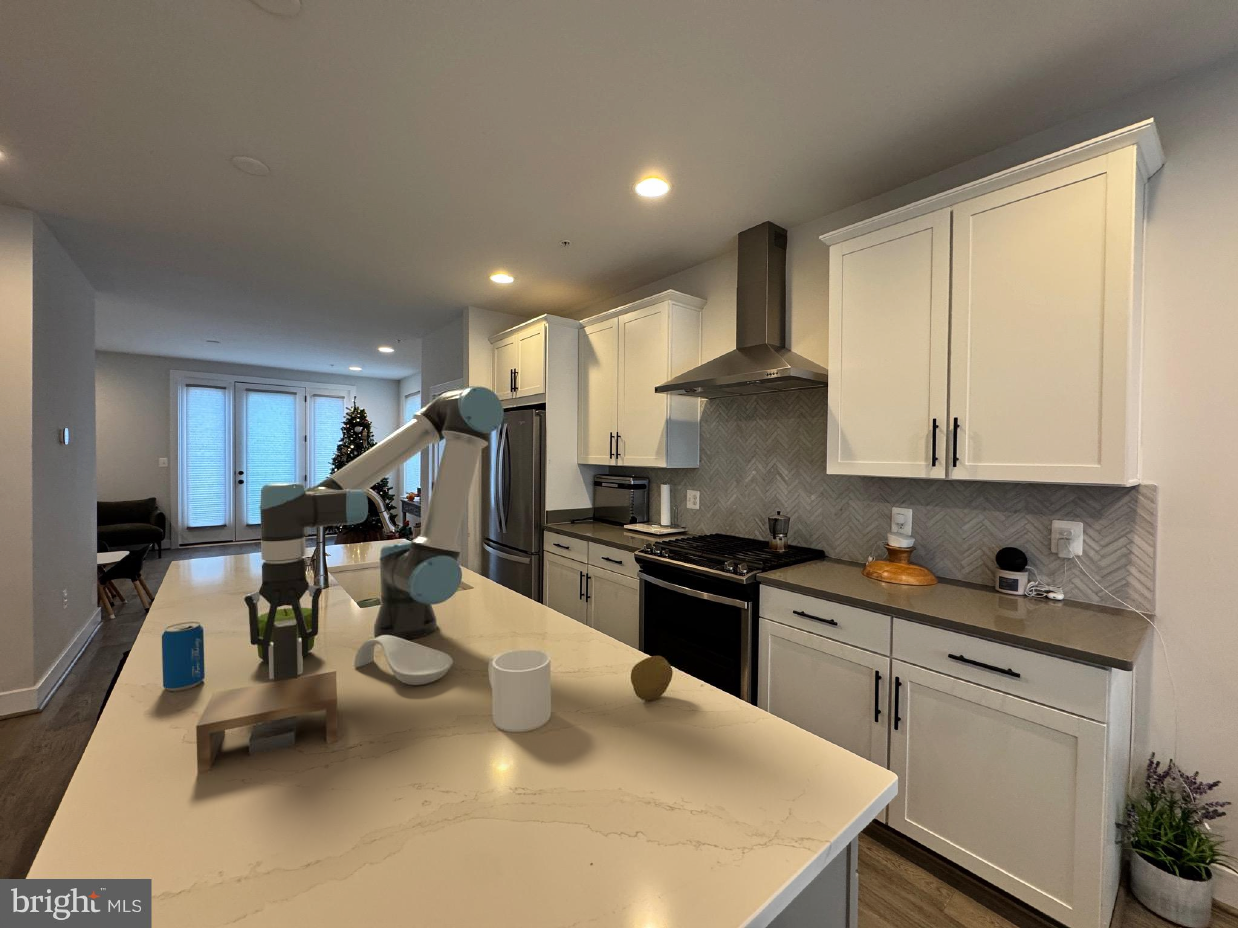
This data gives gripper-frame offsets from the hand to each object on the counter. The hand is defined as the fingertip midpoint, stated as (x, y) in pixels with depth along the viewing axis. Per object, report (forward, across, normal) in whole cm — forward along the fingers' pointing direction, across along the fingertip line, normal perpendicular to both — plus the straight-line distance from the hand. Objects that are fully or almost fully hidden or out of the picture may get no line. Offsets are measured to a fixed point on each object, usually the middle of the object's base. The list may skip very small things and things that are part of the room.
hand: (286, 673), depth 108 cm
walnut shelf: (+2, 0, +24) cm, 24 cm away
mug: (+2, -37, +36) cm, 52 cm away
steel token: (+2, 0, +25) cm, 25 cm away
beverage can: (+2, +18, -8) cm, 20 cm away
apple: (+2, +1, -15) cm, 15 cm away
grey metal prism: (+2, 0, +8) cm, 8 cm away
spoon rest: (+2, -21, +7) cm, 22 cm away
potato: (+2, -61, +42) cm, 74 cm away
